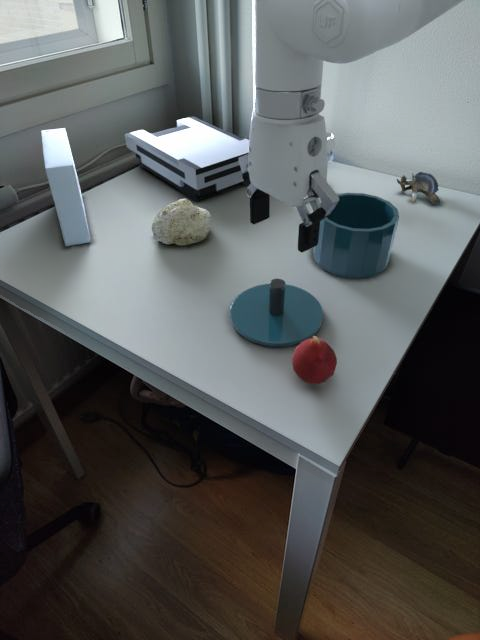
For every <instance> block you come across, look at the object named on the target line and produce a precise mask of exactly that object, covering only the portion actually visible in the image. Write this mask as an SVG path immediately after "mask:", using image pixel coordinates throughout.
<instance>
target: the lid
mask: <svg viewBox="0 0 480 640" xmlns="http://www.w3.org/2000/svg"><path fill="white" fill-rule="evenodd" d="M323 311H324V310H323V308H322V304H321V303H320V302H319V300H318V299H317V298H316V297H315V296H314V295H313V294H311V293H310V292H309V291H307V290H305V289H302V288H300V287H297V286H295V285H291V284H287V283H286V281H285V280H284V279H281V278H273V279H270V281H269V283H264V284H259V285H255V286H252V287H250V288H247V289H245V290H244V291H242V292H241V293H239V294H238V295H237V296H236V297H235V299H234V300H233V301H232V303H231V305H230V310H229V317H230V321H231V324H232V326H233V328H234V329H235V330H236V332H238V333H239V334H240V335H241V336H242V337H243V338H245V339H247V340H249V341H251V342H254V343H256V344H259V345H262V346H263V345H264V346H269V347H287V346H293V345H298V344H300V343H302V342H303V341H305V340H307V339H309V338H312V336H315V334H316V333H318V331H319V330H320V328H321V326H322V324H323V319H324V312H323Z"/></svg>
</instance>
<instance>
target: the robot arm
mask: <svg viewBox="0 0 480 640" xmlns="http://www.w3.org/2000/svg"><path fill="white" fill-rule="evenodd" d="M463 1H465V0H251V3H252V4H251V5H252V9H251V10H252V67H253V68H252V75H253V76H252V77H253V78H252V82H253V109H252V113H251V120H250V127H249V137H248V138H249V154H246V155H244V156H241V157H239V159H238V160H239V164H240V167H241V170H242V172H243V174H242V178H243V180H244V182H245V183H244V184H245V186H246V190H245V193H246V196H248V197H249V223H250V224H251V225H257V224H259V223H261V222H264V221H266V220H269V219H270V213H271V196H272V197H273V198H275V199H278V200H279V201H281V202H283V203H285V204H287V205H290V206H291V207H294V208H295V209H296V210H297V212H298V215H299V217H300V220H301V221H302V222H301V223H299V225H298V233H297V251H298V252H300V253H305V252H307V251H309V250H311V249H312V248H313V249H314V247H315V246H317V244H318V241H319V229H320V221H321V220H323V219H325V218H326V217H327V216H329V215H330V214H331V213H332V210H333V209H334V208H335V206H336V205H337V203H338V202H339V196H338V195H337V194H338V193H336V191H335V190H334V189H333V188H332V187H331V185H329V183H328V182H327V181H328V164H327V135H326V132H327V128H326V127H327V126H326V119H325V116H323V115H322V114H320V113H321V112H323V110H324V108H325V105H326V104H325V103H326V102H325V100H324V99H322V98H321V97H322V84H323V83H322V82H323V73H324V72H323V71H324V62H327V63H332V64H341V65H342V64H349V63H353V62H357V61H358V60H361V59H364V58H366V57H368V56H370V55H373V54H374V53H376V52H379V51H381V50H384V49H385V48H388V47H391V46H394V45H395V44H398V43H399V42H402V41H403V40H406V39H407V38H409V37H410V36H412V35H413V34H415V33H416V32H418V31H420V30H421V29H423V28H424V27H426V26H427V25H428V24H431V23H432V22H433V21H435V20H436V19H438V18H439V17H441V16H442V15H444V14H445V13H447V12H449V11H450V10H451V9H454V8H455V7H456V6H457V5H459V4H461V3H462V2H463ZM320 201H321V202H320ZM320 203H321V204H320ZM307 205H310V207H311V210H312V211H313V212H311V213H310V211H309V209H308V207H307Z"/></svg>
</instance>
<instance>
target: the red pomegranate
mask: <svg viewBox="0 0 480 640" xmlns="http://www.w3.org/2000/svg"><path fill="white" fill-rule="evenodd" d="M337 358H338V357H337V355H336V353H335V350H334V349H333V347H332V346H331V345H330V344H329V343H328V342H327V341H326V340H325V339H322V338H319V337H318V336H316V335H313V336H312V337H310V338H309V339H307V340H305V341H303V342H300V343H298V344H297V346H296V348H294V351H293V354H292V357H291V363H292V370H293V371H294V373H295V374H296V376H297V377H298V378H299V379H300V380H302V381H303V382H305V383H307V384H311V385H319V384H322V383H325V382H327V381H328V380H329V379H330V378H331V377H332V376H334V374H335V371H336V369H337V365H338V359H337Z"/></svg>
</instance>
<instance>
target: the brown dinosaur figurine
mask: <svg viewBox="0 0 480 640" xmlns="http://www.w3.org/2000/svg"><path fill="white" fill-rule="evenodd" d="M409 173H410V175H411V179H412V180H408V178H407V177H406V175H404V174H402V176H401V178H400V179H398V178H396V182H397V184H398V185H400V188H401V191H400V193H401V194H404V193H405V192H406V191H410V190H411V195H412V201H411V202H412V203H414V202H416V199H417V197H418V193H422V194H424V195H425V197H426V198H428V199H429V202H431V204H433V205H435V206H437V205H438V206H439V205H440V204H441V200H440V197H438V195H437V194H436V193H438V192H439V183H438V180H437V179H436V178H435V176H434V175H433V174H431V173H427V172H423V171H420V172H417V173H415V174H414V173H413V171H412V169H410V170H409Z"/></svg>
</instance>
